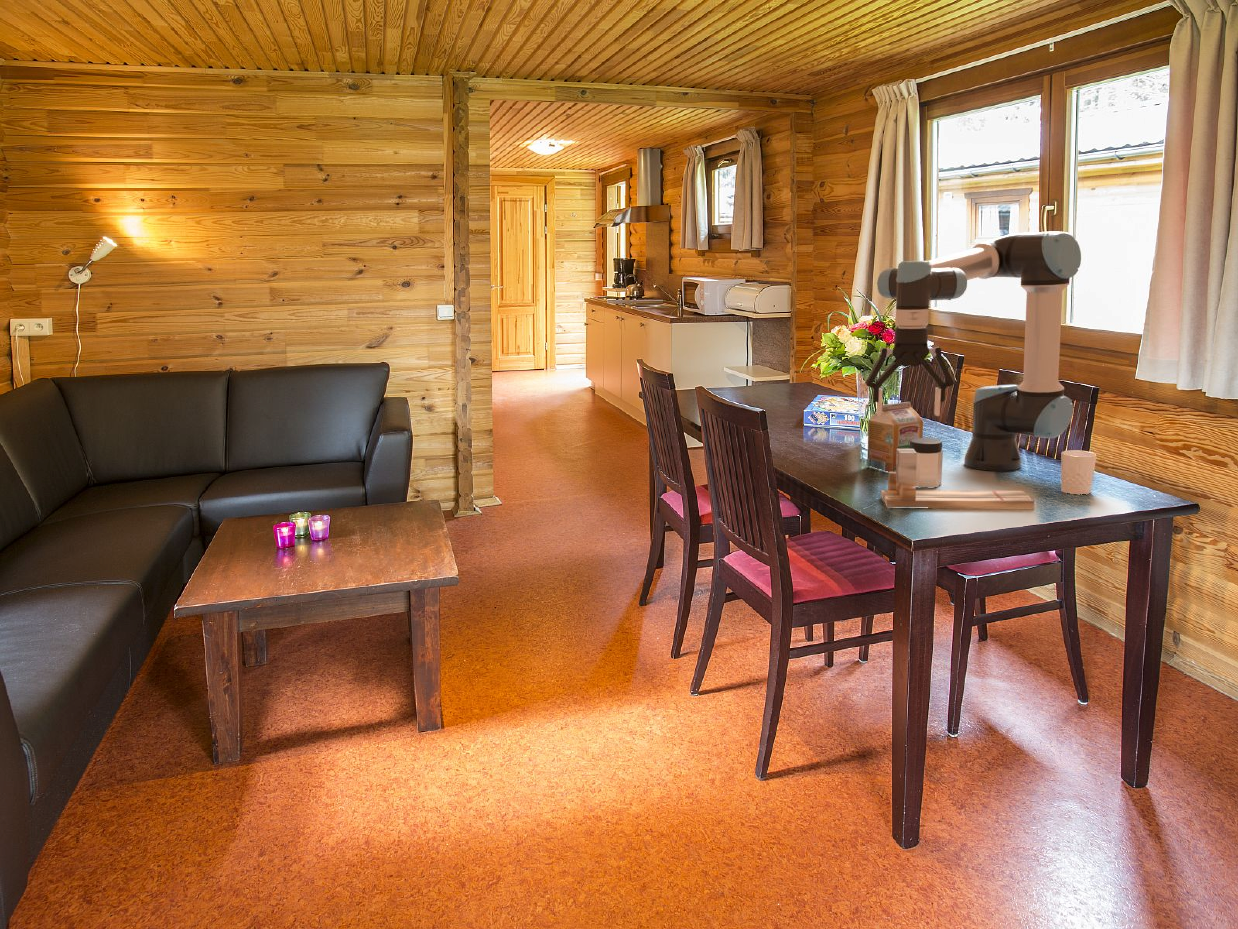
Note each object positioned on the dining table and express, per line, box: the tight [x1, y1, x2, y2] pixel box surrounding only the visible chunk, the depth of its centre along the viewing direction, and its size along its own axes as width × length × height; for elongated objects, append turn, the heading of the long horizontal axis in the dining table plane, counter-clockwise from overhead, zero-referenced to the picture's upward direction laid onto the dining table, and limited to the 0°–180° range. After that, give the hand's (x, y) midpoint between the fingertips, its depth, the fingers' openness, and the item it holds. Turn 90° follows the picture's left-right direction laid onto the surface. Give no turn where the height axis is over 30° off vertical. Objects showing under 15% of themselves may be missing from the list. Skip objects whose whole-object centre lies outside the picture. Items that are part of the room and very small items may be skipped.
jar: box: [910, 437, 944, 488], centre depth 247 cm, size 9×8×12 cm
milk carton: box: [866, 401, 924, 472], centre depth 265 cm, size 11×11×19 cm
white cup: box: [1060, 449, 1097, 496], centre depth 235 cm, size 8×8×10 cm
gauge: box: [887, 449, 917, 501], centre depth 230 cm, size 14×6×13 cm, turn 172°
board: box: [880, 489, 1035, 510], centre depth 229 cm, size 10×34×2 cm, turn 82°
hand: (907, 415), depth 226 cm, fingers open, 13 cm apart
